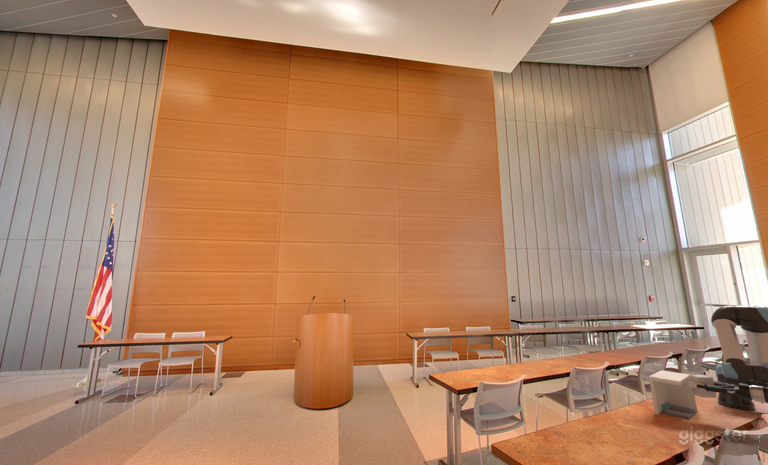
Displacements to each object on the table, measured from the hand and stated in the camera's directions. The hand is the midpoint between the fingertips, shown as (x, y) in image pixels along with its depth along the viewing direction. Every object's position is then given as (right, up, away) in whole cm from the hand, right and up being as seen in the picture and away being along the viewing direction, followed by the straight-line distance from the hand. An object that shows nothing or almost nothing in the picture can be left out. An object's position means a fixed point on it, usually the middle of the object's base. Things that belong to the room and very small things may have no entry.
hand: (691, 382), depth 174 cm
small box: (+3, -5, -5) cm, 8 cm away
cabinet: (-5, -19, +3) cm, 20 cm away
